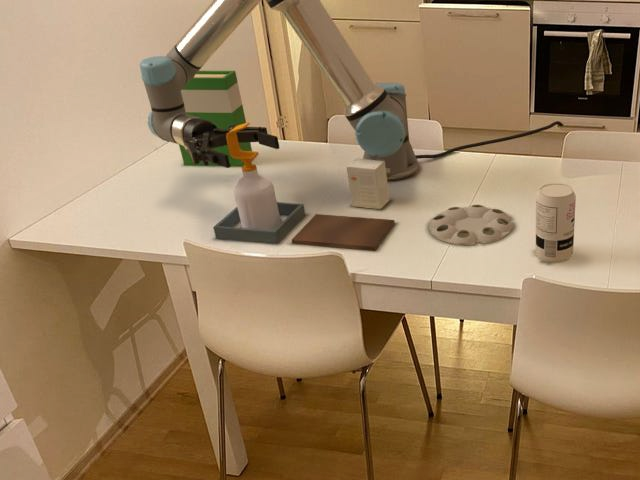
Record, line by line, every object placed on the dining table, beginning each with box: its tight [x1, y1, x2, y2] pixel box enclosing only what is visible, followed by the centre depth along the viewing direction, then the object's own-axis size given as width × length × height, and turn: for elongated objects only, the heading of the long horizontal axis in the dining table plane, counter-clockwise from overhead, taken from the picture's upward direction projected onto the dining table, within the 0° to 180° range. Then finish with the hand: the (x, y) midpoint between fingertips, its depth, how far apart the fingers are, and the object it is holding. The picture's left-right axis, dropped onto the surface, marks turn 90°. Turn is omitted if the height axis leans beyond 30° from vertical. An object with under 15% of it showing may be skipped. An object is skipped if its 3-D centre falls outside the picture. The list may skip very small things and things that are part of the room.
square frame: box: [212, 201, 306, 245], centre depth 179 cm, size 16×16×3 cm
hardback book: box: [178, 70, 253, 167], centre depth 209 cm, size 18×7×24 cm, turn 83°
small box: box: [345, 158, 391, 210], centre depth 186 cm, size 8×6×10 cm
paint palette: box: [429, 204, 514, 246], centre depth 176 cm, size 20×20×2 cm
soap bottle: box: [226, 121, 282, 231], centre depth 172 cm, size 9×9×25 cm
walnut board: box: [291, 213, 396, 252], centre depth 175 cm, size 20×14×1 cm
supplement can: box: [534, 182, 577, 263], centre depth 159 cm, size 8×8×15 cm
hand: (253, 152), depth 167 cm, fingers open, 13 cm apart
